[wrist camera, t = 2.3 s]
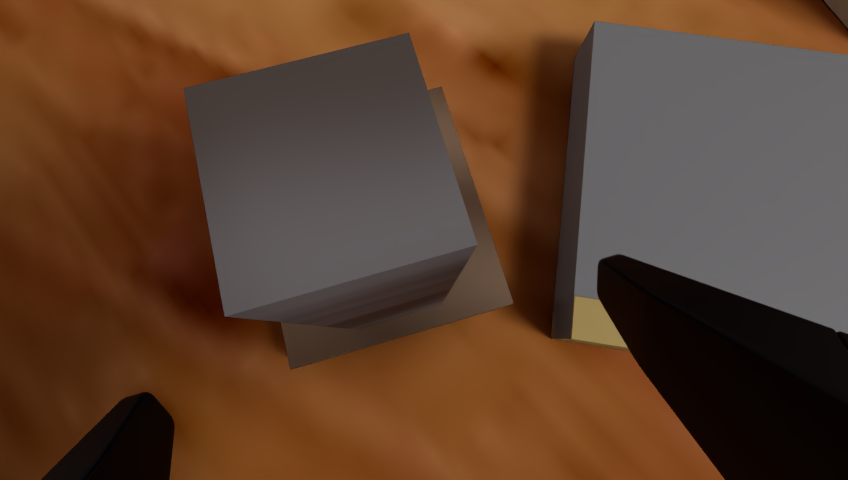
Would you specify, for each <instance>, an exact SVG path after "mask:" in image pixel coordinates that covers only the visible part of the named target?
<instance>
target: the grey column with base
mask: <svg viewBox="0 0 848 480" xmlns="http://www.w3.org/2000/svg"><path fill="white" fill-rule="evenodd" d="M184 94H185V99H186V105H187V110H188V116H189V121H190V127H191V132H192V138H193V144H194V149H195V155H196V160H197V166H198V171H199V177H200V183H201V188H202V194H203V199H204V205H205V210H206V216H207V221H208V227H209V233H210V238H211V244H212V249H213V255H214V260H215V266H216V272H217V277H218V283H219V288H220V294H221V299H222V305H223V310H224V316H225V317H234V318H244V319H254V320H264V321H274V322H281V327H282V331H283V336H284V341H285V346H286V351H287V355H288V360H289V365H290V369H294V368H298V367H302V366H305V365H309V364H313V363H316V362H319V361H323V360H326V359H329V358H333V357H336V356H340V355H343V354H346V353H349V352H352V351H356V350H359V349H363V348H366V347H369V346H373V345H376V344H380V343H383V342H386V341H390V340H393V339H396V338H400V337H403V336H407V335H410V334H413V333H417V332H420V331H424V330H427V329H430V328H434V327H437V326H440V325H444V324H447V323H451V322H454V321H457V320H461V319H464V318H468V317H472V316H475V315H479V314H482V313H485V312H489V311H492V310H495V309H499V308H501V307H505V306H508V305H511V304H514V303H513V300H512V297H511V294H510V291H509V288H508V285H507V282H506V279H505V276H504V273H503V270H502V267H501V264H500V261H499V258H498V255H497V252H496V249H495V246H494V243H493V240H492V237H491V234H490V231H489V228H488V225H487V222H486V219H485V216H484V213H483V210H482V207H481V204H480V201H479V198H478V195H477V192H476V189H475V186H474V183H473V180H472V177H471V174H470V171H469V168H468V165H467V162H466V159H465V156H464V153H463V150H462V147H461V144H460V141H459V138H458V135H457V132H456V129H455V126H454V123H453V120H452V117H451V114H450V111H449V108H448V105H447V102H446V99H445V96H444V93H443V90H442V87H438V88H434V89H430V90H427V87H426V84H425V81H424V78H423V75H422V72H421V69H420V66H419V63H418V60H417V56H416V53H415V50H414V47H413V44H412V41H411V38H410V35H409V33H406V34H402V35H398V36H394V37H390V38H386V39H382V40H378V41H374V42H370V43H366V44H362V45H357V46H353V47H349V48H345V49H341V50H337V51H333V52H329V53H325V54H321V55H317V56H313V57H309V58H305V59H301V60H297V61H293V62H289V63H284V64H280V65H276V66H272V67H268V68H264V69H260V70H256V71H252V72H248V73H244V74H240V75H236V76H232V77H228V78H224V79H220V80H215V81H211V82H207V83H203V84H199V85H195V86H191V87H187V88H184Z"/></svg>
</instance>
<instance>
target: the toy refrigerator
mask: <svg viewBox="0 0 848 480" xmlns="http://www.w3.org/2000/svg"><path fill="white" fill-rule="evenodd" d="M824 2H825V3H826V4H827V5H828V6H829V7H830V8H831V10H832V11H833V12H834V13H835V14H836V15H837V17H838V18H839V19H840V20H841V21H842V23H843V24H844V25H845V26H846V27H847V29H848V0H824Z"/></svg>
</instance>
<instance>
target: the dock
mask: <svg viewBox="0 0 848 480" xmlns="http://www.w3.org/2000/svg"><path fill="white" fill-rule="evenodd" d="M616 254H622V255H625V256H628V257H631V258H633V259H636V260H639V261H642V262H645V263H648V264H651V265H653V266H656V267H659V268H662V269H665V270H668V271H670V272H673V273H676V274H679V275H682V276H685V277H688V278H690V279H693V280H696V281H699V282H702V283H705V284H707V285H710V286H713V287H716V288H719V289H722V290H724V291H727V292H730V293H733V294H736V295H739V296H742V297H744V298H747V299H750V300H753V301H756V302H759V303H761V304H764V305H767V306H770V307H773V308H776V309H779V310H781V311H784V312H787V313H790V314H793V315H796V316H798V317H801V318H804V319H807V320H810V321H813V322H816V323H818V324H821V325H824V326H827V327H830V328H832V329H834V330H835V331H836V332H838V331H841V332H844V333H847V334H848V55H844V54H837V53H829V52H822V51H814V50H807V49H799V48H792V47H784V46H777V45H770V44H762V43H755V42H747V41H740V40H732V39H725V38H718V37H710V36H703V35H695V34H688V33H680V32H673V31H666V30H658V29H651V28H643V27H636V26H628V25H621V24H613V23H606V22H599V21H594V23H593V25H592V27H591V29H590V31H589V32H588V34H587V36H586V38H585V40H584V42H583V44H582V45H581V47H580V49H579V51H578V53H577V55H576V56H575V63H574V75H573V86H572V98H571V109H570V121H569V133H568V144H567V156H566V168H565V179H564V191H563V202H562V214H561V226H560V237H559V249H558V261H557V272H556V284H555V295H554V307H553V319H552V330H551V339H556V340H563V341H569V342H575V343H582V344H588V345H594V346H600V347H607V348H613V349H619V350H626V351H630V350H629V349H628V347H627V345H626V344H625V342H624V340H623V339H622V337H621V335H620V334H619V332H618V330H617V329H616V327H615V325H614V324H613V322H612V320H611V319H610V317H609V315H608V314H607V312H606V310H605V309H604V307H603V305H602V304H601V302H600V300H599V298H598V294H597V271H598V263H599V261H600V260H601V259H602V258H605V257H609V256H612V255H616Z"/></svg>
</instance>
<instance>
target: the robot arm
mask: <svg viewBox="0 0 848 480" xmlns="http://www.w3.org/2000/svg"><path fill="white" fill-rule="evenodd" d="M597 294H598V298H599V300H600V302H601V304H602V305H603V307H604V309H605V310H606V312H607V314H608V315H609V317H610V319H611V320H612V322H613V324H614V325H615V327H616V329H617V330H618V332H619V334H620V335H621V337H622V339H623V340H624V342H625V344H626V345H627V347H628V349H629V350H630V352H631V354H632V355H633V357H634V358H635V360H636V362H637V363H638V365H639V366H640V367H641V369H642V370H643V372H644V373H645V374H646V376H647V377H648V378H649V380H650V381H651V382H652V384H653V385H654V386H655V388H656V389H657V390H658V392H659V393H660V394H661V396H662V397H663V398H664V399H665V401H666V402H667V403H668V405H669V406H670V407H671V409H672V410H673V411H674V413H675V414H676V415H677V417H678V418H679V419H680V421H681V422H682V423H683V425H684V426H685V427H686V429H687V430H688V431H689V433H690V434H691V435H692V437H693V438H694V439H695V441H696V442H697V443H698V444H699V446H700V447H701V448H702V450H703V451H704V452H705V454H706V455H707V456H708V458H709V459H710V460H711V462H712V463H713V464H714V466H715V467H716V468H717V470H718V471H719V472H720V474H721V475H722V476H723V478H724V479H725V480H848V334H847V333H844V332H841V331H838V332H836V331H835V330H834V329H832V328H830V327H827V326H824V325H821V324H818V323H816V322H813V321H810V320H807V319H804V318H801V317H798V316H796V315H793V314H790V313H787V312H784V311H781V310H779V309H776V308H773V307H770V306H767V305H764V304H761V303H759V302H756V301H753V300H750V299H747V298H744V297H742V296H739V295H736V294H733V293H730V292H727V291H724V290H722V289H719V288H716V287H713V286H710V285H707V284H705V283H702V282H699V281H696V280H693V279H690V278H688V277H685V276H682V275H679V274H676V273H673V272H670V271H668V270H665V269H662V268H659V267H656V266H653V265H651V264H648V263H645V262H642V261H639V260H636V259H633V258H631V257H628V256H625V255H622V254H616V255H612V256H609V257H605V258H602V259H601V260H600V261H599V263H598V271H597ZM173 439H174V421H173V419H172V416H171V415H170V414H169V413H168V412H167V410H166V409H165V408H164V407H163V406H162V405H161V404H160V402H159V401H158V400H157V399H156V398H155V397H154V396H153V395H152V394H150V393H148V392H143V393H139V394H136V395H132V396H129V397H126V398H124V399H122V400H121V401H120V402H119V403H118V404H117V405H116V406H115V407H114V408H113V409H112V410H111V411H110V412H109V413H108V414H107V415H106V416H105V417H104V418H103V419H102V420H101V421H100V422H99V423H98V424H97V425H96V426H95V427H94V428H93V429H92V430H91V431H90V432H88V433H87V434H86V435H85V436H84V437H83V438H82V439H81V440H80V441H79V442H78V443H77V444H76V445H75V446H74V447H73V448H72V449H71V450H70V451H69V452H68V453H67V454H66V455H65V456H64V457H63V458H62V459H61V460H60V461H59V462H58V463H57V464H56V465H55V466H54V467H53V468H52V469H51V470H50V471H49V472H48V473H47V474H46V475H45V476H44V477H43V478H42V479H41V480H169V479H170V469H171V459H172V449H173Z"/></svg>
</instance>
